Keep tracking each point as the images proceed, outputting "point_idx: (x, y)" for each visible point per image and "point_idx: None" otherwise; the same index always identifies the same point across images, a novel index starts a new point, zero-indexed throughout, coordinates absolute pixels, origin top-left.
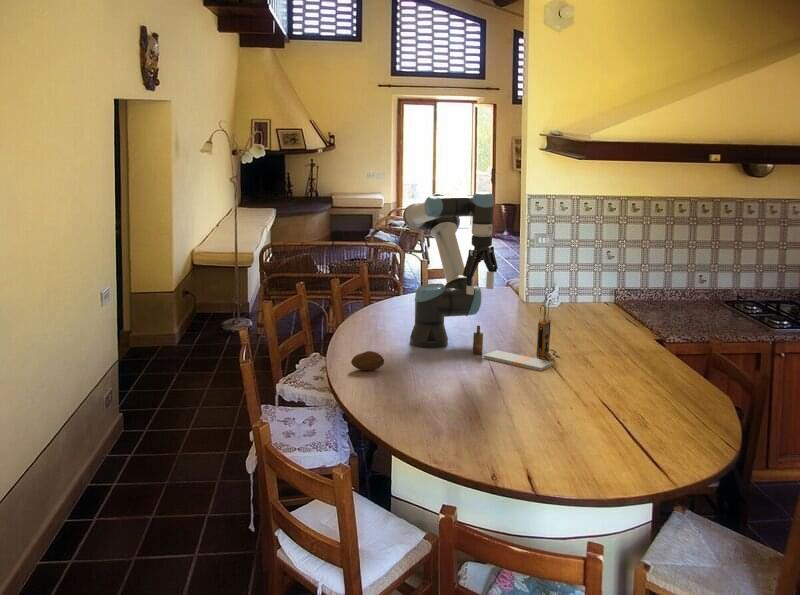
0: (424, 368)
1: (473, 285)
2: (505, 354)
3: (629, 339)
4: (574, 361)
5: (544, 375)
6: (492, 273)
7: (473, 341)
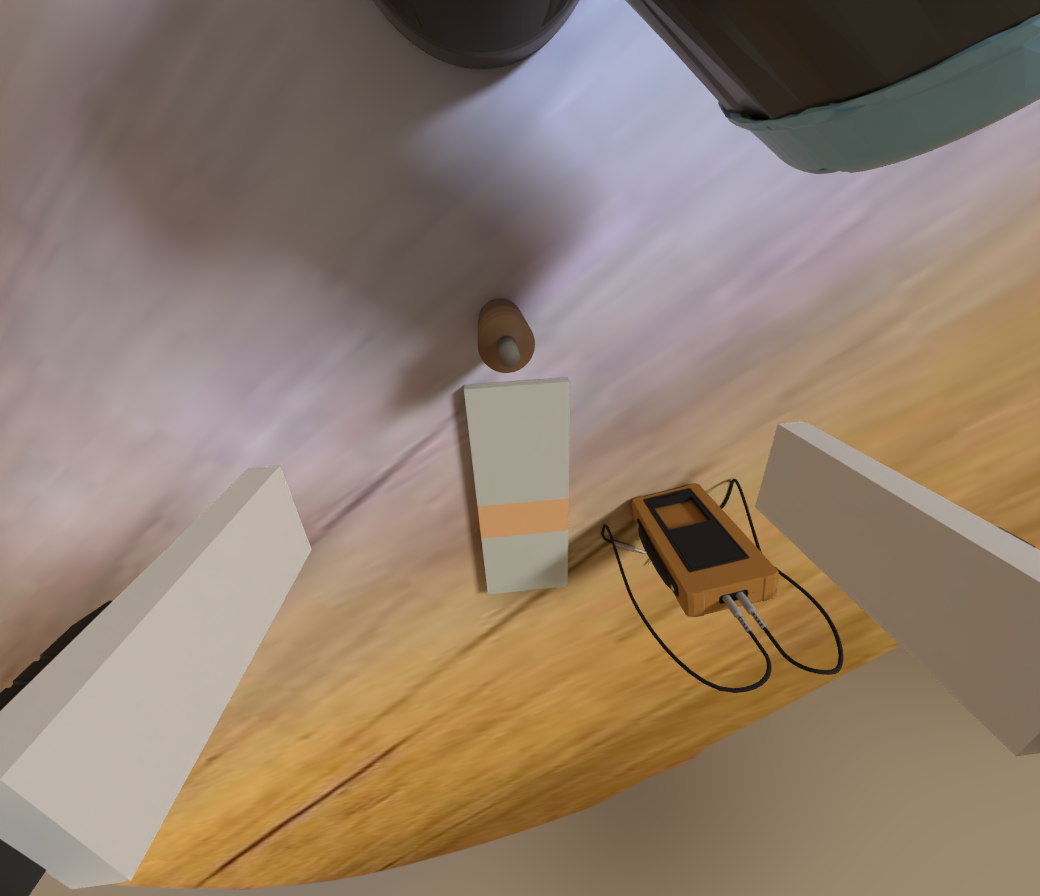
0: (106, 285)
1: (231, 667)
2: (537, 444)
3: None
4: (645, 592)
5: (459, 609)
6: (990, 725)
7: (482, 319)
